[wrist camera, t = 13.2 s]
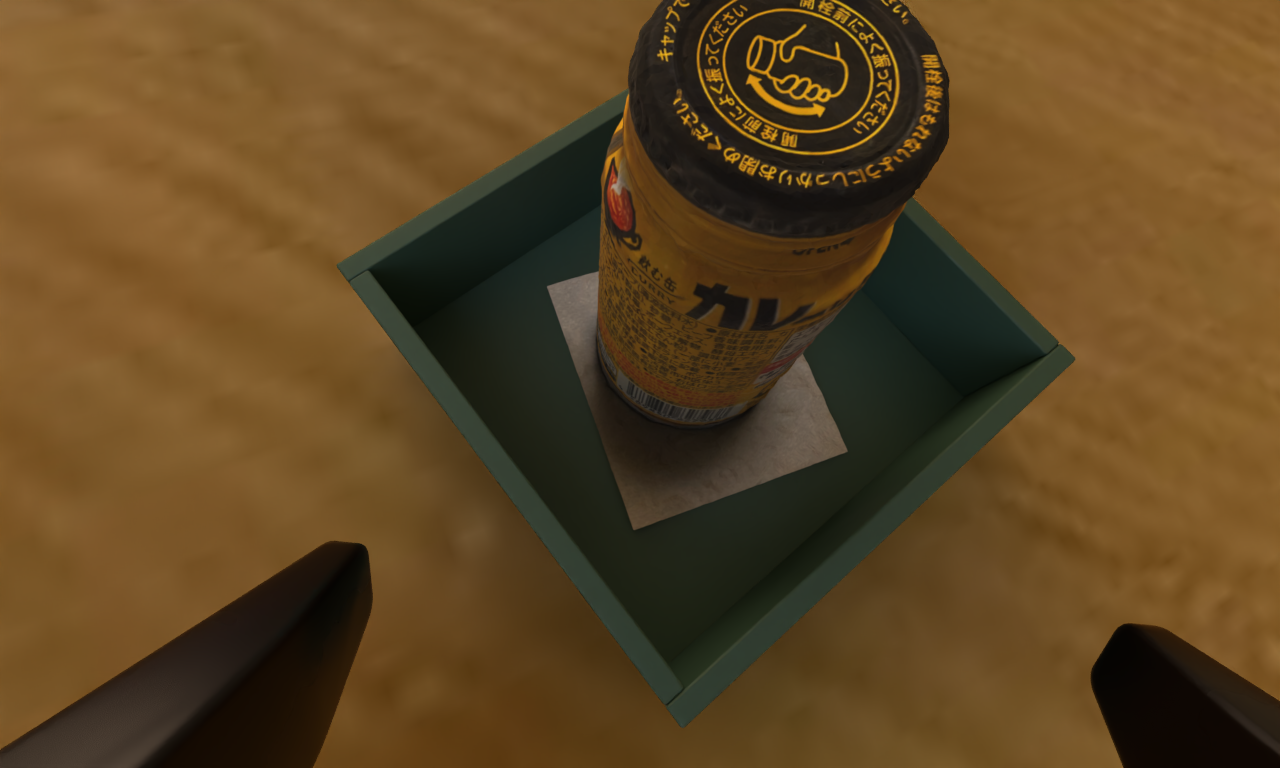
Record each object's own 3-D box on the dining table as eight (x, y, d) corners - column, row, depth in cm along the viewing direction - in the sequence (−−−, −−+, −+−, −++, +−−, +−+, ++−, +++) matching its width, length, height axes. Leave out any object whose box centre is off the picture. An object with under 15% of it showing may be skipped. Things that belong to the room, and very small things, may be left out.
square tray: (974, 407, 22) (1077, 358, 18) (659, 694, 19) (682, 730, 14) (708, 129, 25) (736, 22, 20) (391, 335, 22) (334, 264, 17)
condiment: (744, 230, 23) (895, -126, 11) (845, 453, 21) (1161, 284, 9) (546, 289, 22) (496, -45, 10) (632, 531, 19) (691, 450, 8)
